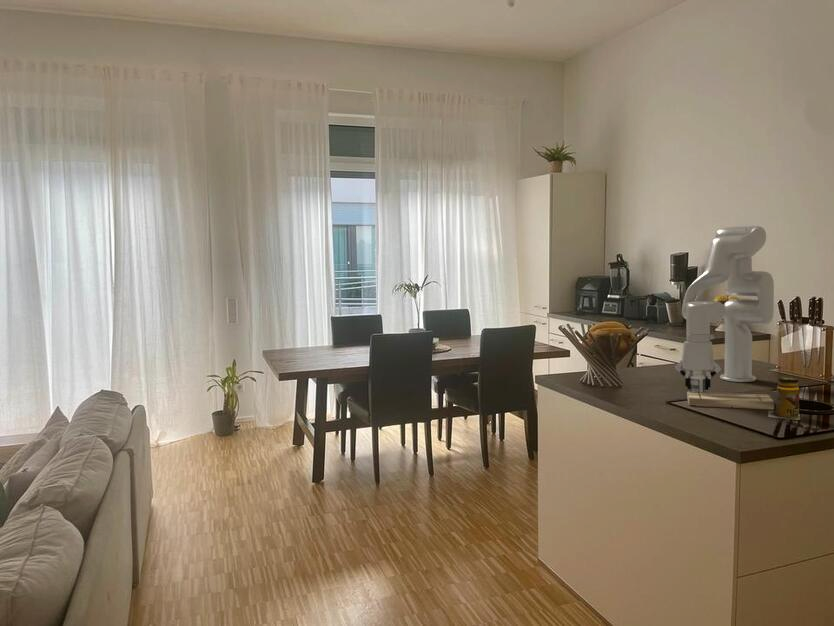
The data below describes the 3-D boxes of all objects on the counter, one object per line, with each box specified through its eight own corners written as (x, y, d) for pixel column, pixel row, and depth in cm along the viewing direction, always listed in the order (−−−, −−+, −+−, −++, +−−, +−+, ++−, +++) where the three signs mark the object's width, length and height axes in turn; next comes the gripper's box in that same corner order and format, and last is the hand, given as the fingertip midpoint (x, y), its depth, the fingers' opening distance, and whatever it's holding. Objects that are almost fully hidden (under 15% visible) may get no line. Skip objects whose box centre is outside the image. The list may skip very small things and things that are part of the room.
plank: (687, 398, 220) (687, 391, 219) (768, 402, 211) (768, 394, 211) (689, 405, 210) (689, 397, 210) (773, 409, 202) (774, 401, 202)
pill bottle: (701, 392, 226) (701, 367, 225) (708, 395, 220) (708, 370, 219) (686, 392, 225) (686, 368, 224) (693, 396, 220) (693, 371, 219)
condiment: (800, 420, 189) (801, 381, 188) (768, 417, 193) (768, 379, 192) (799, 414, 195) (800, 376, 194) (768, 411, 200) (769, 374, 198)
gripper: (723, 337, 221) (723, 387, 223) (671, 336, 227) (671, 385, 229) (726, 340, 214) (725, 392, 216) (672, 339, 220) (672, 390, 222)
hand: (697, 388), depth 223 cm, fingers closed on pill bottle, 5 cm apart
